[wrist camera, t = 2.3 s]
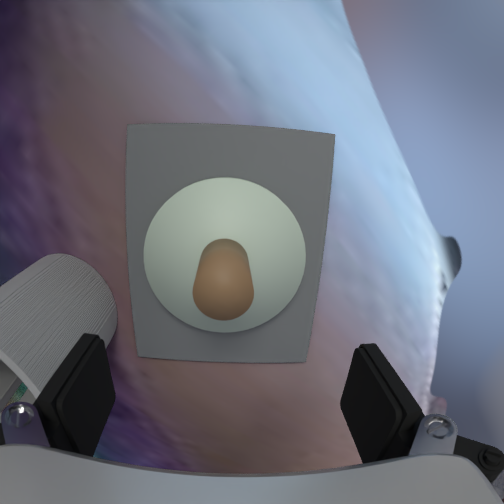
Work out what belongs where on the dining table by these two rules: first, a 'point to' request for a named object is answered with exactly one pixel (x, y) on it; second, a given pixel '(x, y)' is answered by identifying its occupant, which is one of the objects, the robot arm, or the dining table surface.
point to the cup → (49, 320)
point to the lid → (224, 255)
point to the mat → (236, 166)
